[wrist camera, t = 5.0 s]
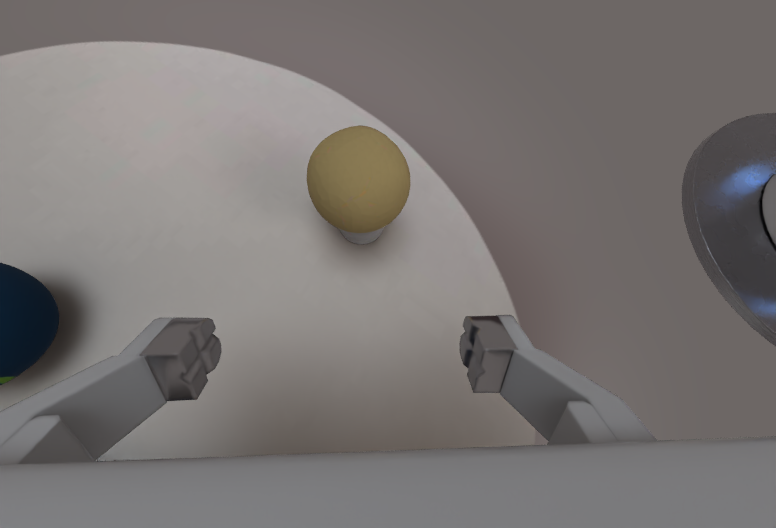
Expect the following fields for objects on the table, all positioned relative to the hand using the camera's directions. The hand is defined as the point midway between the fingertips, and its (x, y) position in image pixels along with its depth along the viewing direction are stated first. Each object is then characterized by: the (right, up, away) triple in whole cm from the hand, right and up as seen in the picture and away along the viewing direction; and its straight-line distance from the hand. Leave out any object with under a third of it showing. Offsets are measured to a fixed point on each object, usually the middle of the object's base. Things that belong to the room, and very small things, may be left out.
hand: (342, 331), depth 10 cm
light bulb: (-1, +5, +16) cm, 17 cm away
